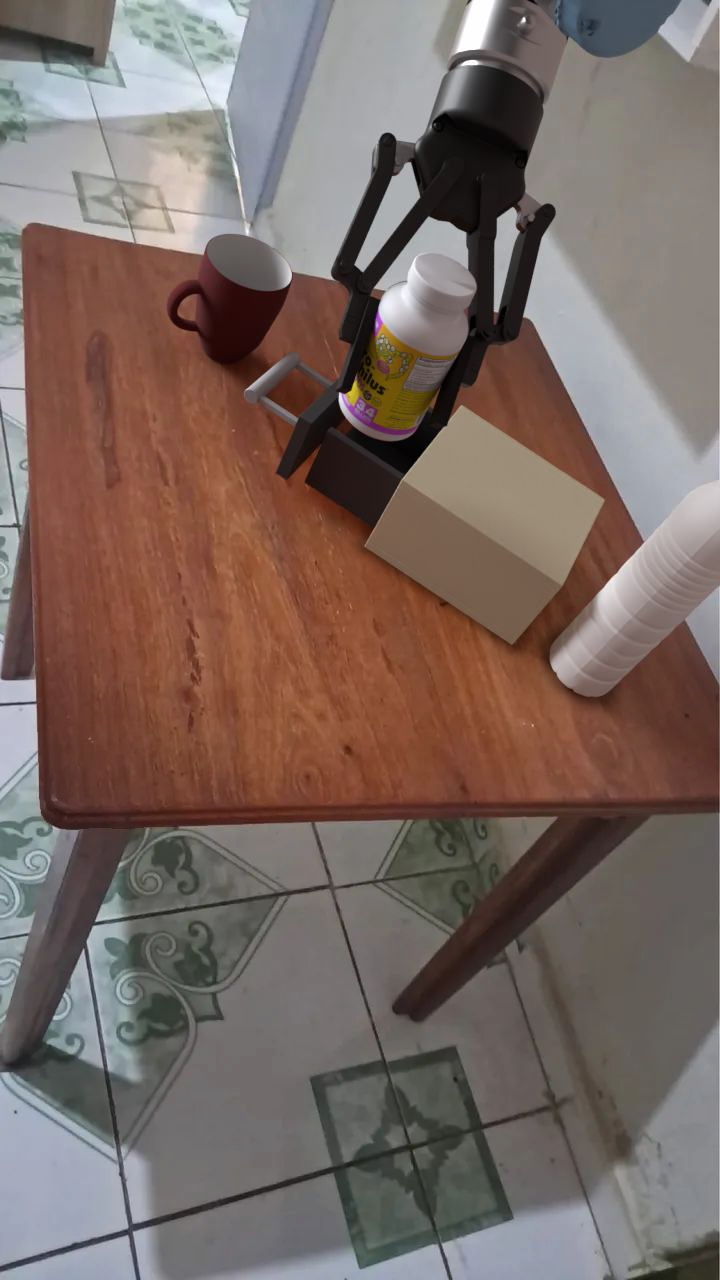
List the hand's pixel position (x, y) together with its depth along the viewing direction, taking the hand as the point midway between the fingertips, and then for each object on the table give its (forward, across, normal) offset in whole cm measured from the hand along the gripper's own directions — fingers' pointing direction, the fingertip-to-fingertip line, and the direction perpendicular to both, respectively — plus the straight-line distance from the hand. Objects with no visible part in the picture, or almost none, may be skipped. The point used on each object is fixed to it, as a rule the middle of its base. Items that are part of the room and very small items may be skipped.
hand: (390, 407), depth 69 cm
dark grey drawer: (+3, +1, +19) cm, 19 cm away
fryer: (+8, +14, +16) cm, 23 cm away
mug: (-3, -14, +27) cm, 30 cm away
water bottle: (+15, +26, +9) cm, 31 cm away
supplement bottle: (0, 0, +5) cm, 5 cm away
